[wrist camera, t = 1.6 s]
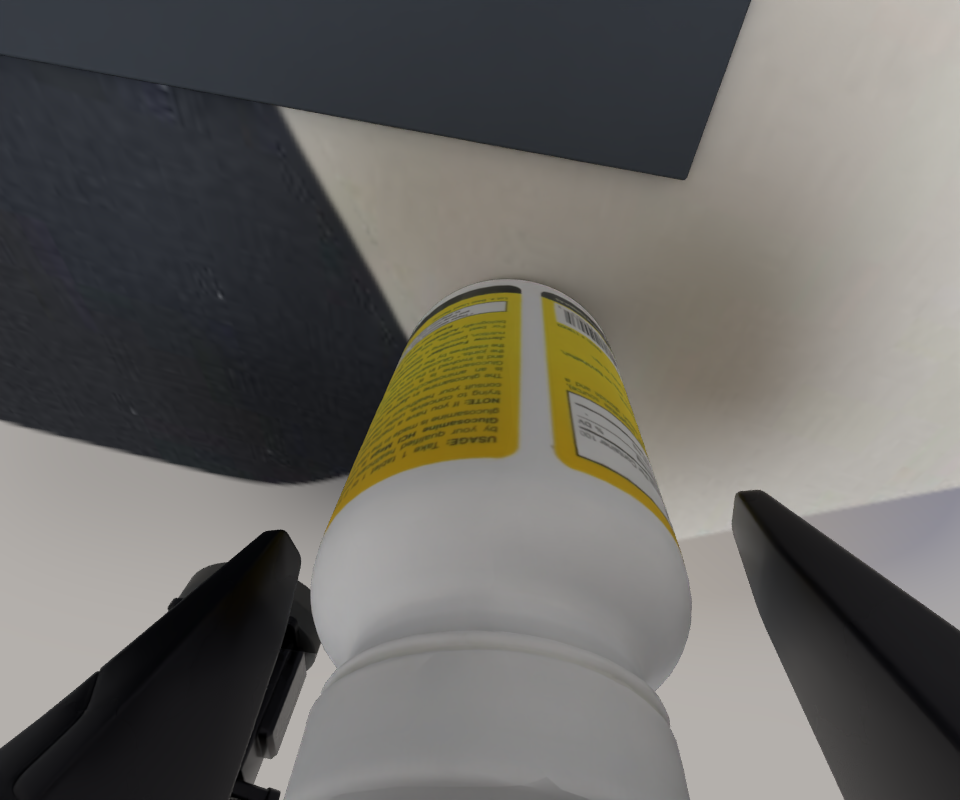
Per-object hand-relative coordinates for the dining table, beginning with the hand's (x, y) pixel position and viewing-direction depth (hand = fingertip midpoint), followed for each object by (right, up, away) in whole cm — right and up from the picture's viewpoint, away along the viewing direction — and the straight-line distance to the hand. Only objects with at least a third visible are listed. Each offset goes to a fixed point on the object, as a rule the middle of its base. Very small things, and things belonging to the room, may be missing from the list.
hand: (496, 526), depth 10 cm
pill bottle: (+1, +3, +5) cm, 6 cm away
